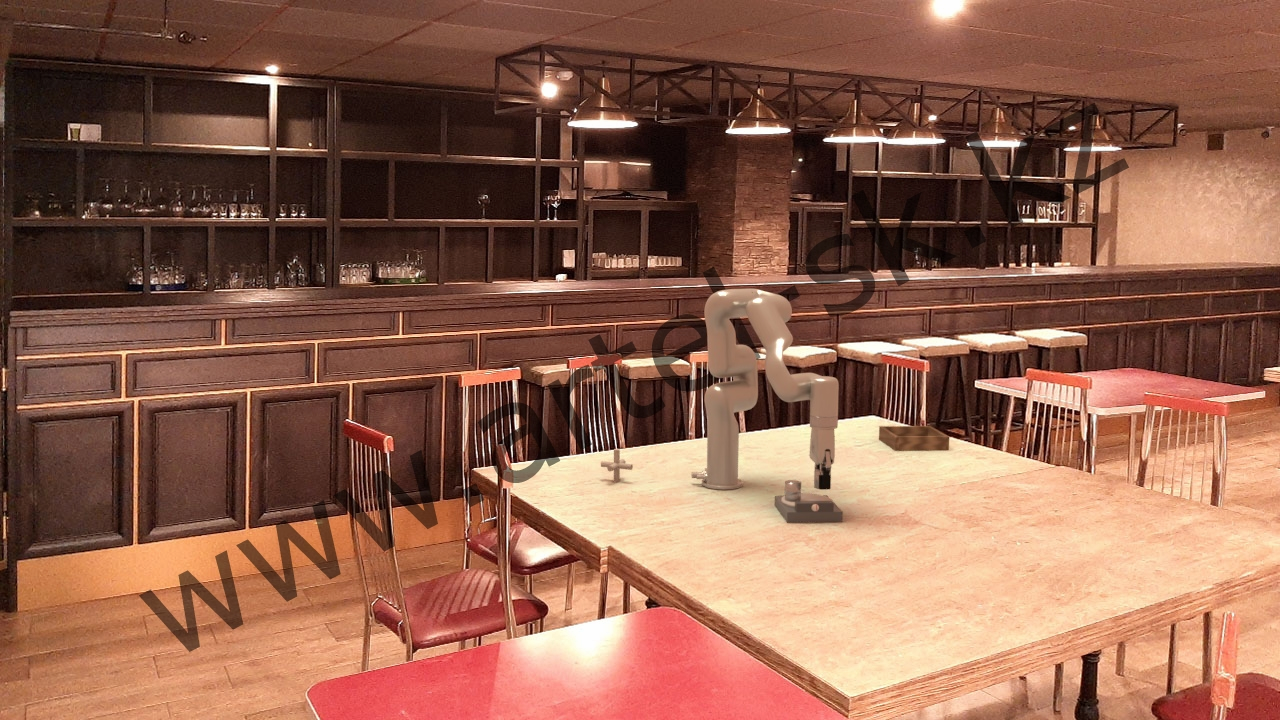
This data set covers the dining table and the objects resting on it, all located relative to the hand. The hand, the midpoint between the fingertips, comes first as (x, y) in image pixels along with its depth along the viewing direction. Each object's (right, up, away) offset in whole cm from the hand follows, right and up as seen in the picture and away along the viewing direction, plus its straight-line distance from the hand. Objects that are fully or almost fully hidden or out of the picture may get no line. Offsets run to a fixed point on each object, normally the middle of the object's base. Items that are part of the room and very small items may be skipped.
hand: (822, 486), depth 284 cm
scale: (-4, -7, 0) cm, 9 cm away
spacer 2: (0, 0, 0) cm, 0 cm away
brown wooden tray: (+49, +4, +90) cm, 102 cm away
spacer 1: (-8, -4, 0) cm, 9 cm away
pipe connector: (-57, -3, +34) cm, 67 cm away
